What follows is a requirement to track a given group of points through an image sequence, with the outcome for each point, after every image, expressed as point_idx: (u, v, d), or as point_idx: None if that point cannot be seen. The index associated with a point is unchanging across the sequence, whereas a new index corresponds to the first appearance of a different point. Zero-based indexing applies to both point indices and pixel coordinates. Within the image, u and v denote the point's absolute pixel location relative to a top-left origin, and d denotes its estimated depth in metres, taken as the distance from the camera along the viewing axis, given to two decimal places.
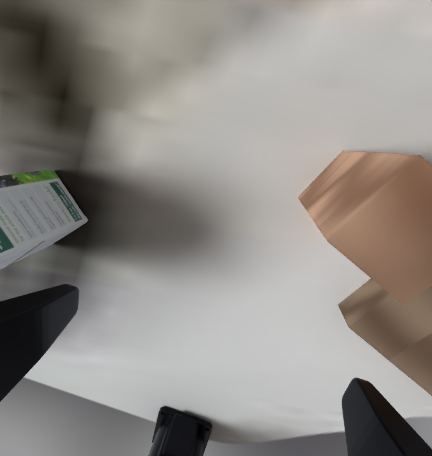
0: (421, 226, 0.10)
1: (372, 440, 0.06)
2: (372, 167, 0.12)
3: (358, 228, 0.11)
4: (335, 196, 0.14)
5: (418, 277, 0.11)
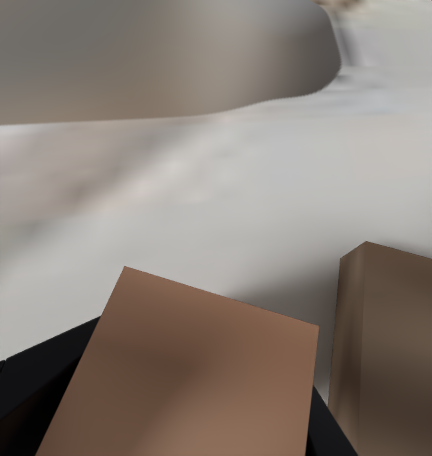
0: (188, 379, 0.05)
1: None
2: None
3: (69, 450, 0.05)
4: None
5: None
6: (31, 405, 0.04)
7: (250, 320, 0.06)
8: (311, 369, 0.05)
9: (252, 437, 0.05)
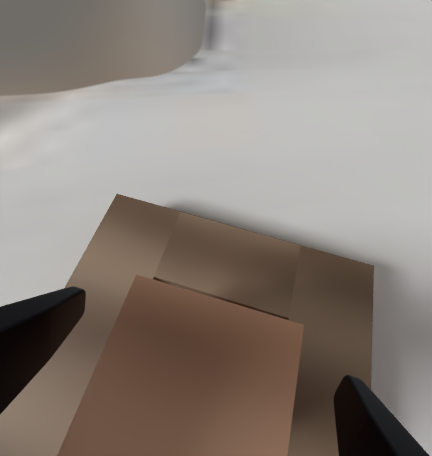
0: (192, 371, 0.06)
1: (361, 436, 0.06)
2: None
3: (94, 428, 0.05)
4: None
5: None
6: None
7: (244, 320, 0.06)
8: (297, 361, 0.06)
9: (246, 418, 0.06)
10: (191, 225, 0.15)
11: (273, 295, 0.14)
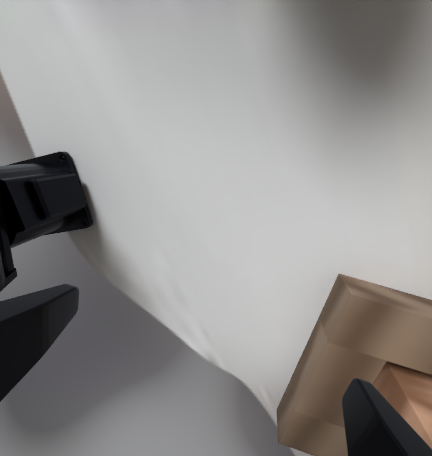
0: None
1: (372, 440, 0.06)
2: None
3: None
4: None
5: None
6: None
7: None
8: None
9: None
10: None
11: None
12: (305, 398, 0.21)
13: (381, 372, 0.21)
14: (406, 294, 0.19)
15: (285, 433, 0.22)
